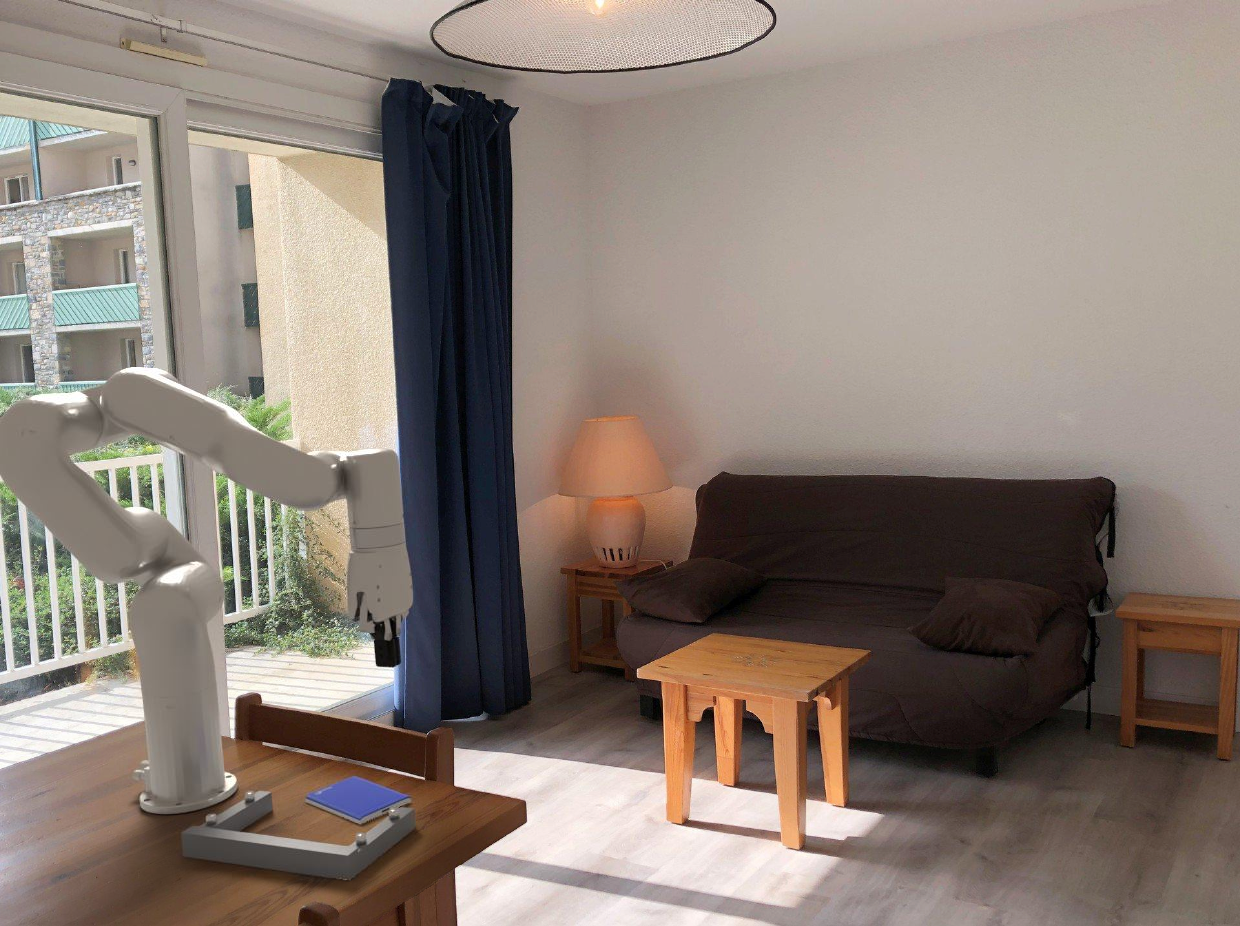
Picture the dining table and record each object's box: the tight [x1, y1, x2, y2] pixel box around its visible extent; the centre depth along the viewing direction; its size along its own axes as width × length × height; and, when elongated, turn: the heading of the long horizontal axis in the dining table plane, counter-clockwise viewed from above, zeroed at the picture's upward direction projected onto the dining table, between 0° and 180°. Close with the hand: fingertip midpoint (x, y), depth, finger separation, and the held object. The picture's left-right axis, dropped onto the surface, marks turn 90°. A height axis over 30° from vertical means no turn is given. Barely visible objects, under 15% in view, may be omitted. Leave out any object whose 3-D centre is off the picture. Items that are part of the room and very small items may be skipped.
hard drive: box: [305, 775, 412, 825], centre depth 139 cm, size 2×8×12 cm
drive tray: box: [180, 790, 416, 881], centre depth 127 cm, size 24×14×4 cm, turn 70°
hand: (388, 665), depth 146 cm, fingers closed
